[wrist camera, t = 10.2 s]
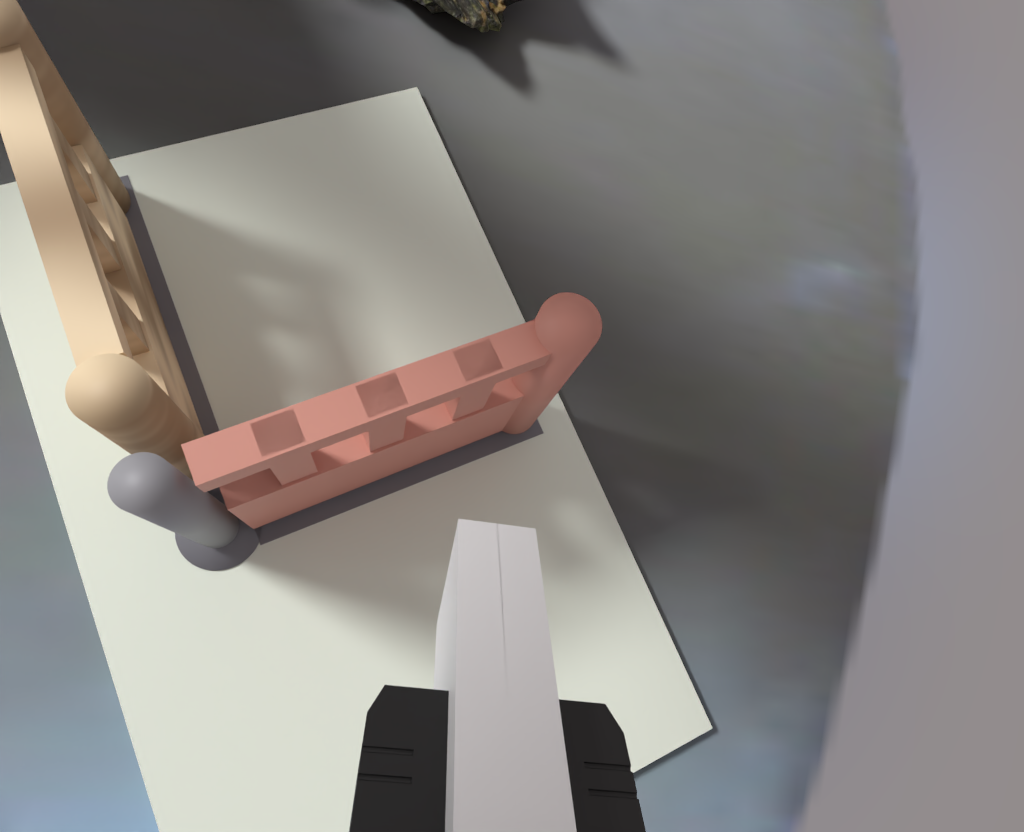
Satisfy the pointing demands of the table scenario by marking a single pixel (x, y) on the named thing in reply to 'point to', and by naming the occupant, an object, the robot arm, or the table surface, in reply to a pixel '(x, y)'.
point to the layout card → (337, 521)
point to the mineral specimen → (472, 11)
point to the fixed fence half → (90, 258)
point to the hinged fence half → (361, 429)
